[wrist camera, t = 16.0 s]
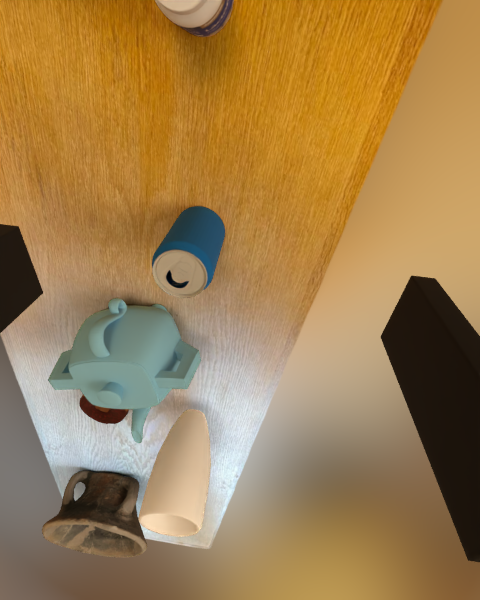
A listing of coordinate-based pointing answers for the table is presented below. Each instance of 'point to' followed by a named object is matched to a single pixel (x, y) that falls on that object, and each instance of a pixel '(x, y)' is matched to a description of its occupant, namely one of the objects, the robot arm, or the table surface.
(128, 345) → the teapot
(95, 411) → the donut
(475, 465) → the robot arm
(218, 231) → the beverage can
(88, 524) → the brown clay pot
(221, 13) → the pill bottle
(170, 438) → the cup
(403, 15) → the table surface
